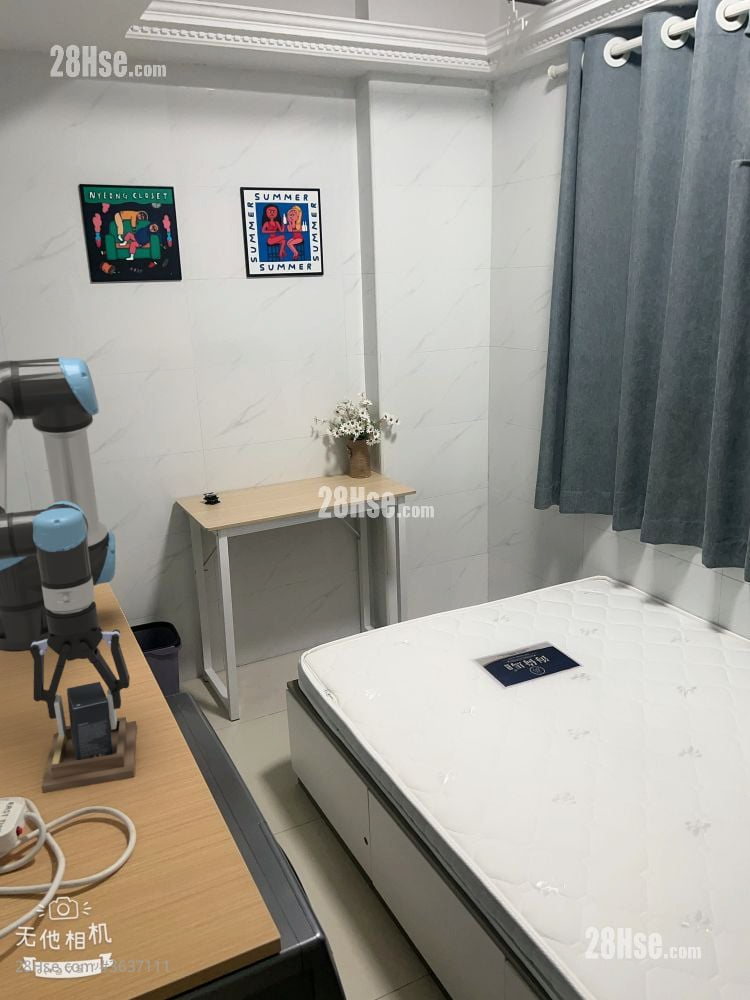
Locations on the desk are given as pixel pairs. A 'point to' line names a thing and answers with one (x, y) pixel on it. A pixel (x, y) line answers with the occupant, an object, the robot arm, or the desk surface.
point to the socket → (90, 760)
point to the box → (89, 721)
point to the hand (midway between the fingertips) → (88, 728)
